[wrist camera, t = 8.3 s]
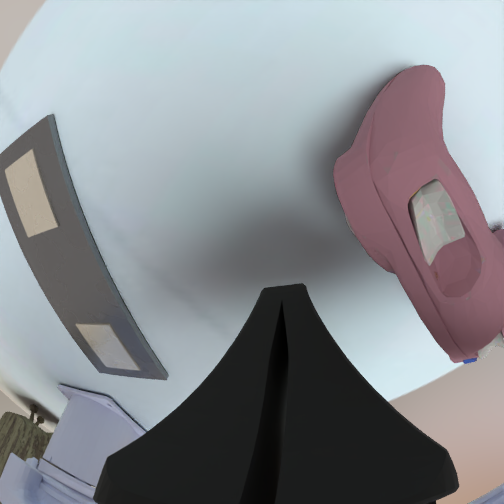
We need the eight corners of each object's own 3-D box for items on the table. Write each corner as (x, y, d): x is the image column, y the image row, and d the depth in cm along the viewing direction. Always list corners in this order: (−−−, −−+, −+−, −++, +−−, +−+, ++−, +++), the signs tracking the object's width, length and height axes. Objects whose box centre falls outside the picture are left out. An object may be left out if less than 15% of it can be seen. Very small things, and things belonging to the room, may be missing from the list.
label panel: (168, 375, 16) (166, 381, 15) (101, 368, 17) (98, 373, 16) (53, 114, 8) (45, 115, 8) (-5, 160, 9) (-11, 163, 9)
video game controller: (330, 115, 9) (273, 241, 5) (417, 48, 6) (501, 101, 2) (446, 266, 12) (444, 394, 8) (515, 235, 8) (541, 371, 4)
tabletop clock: (44, 420, 34) (8, 506, 12) (13, 391, 30) (-30, 481, 9) (80, 432, 30) (41, 541, 9) (41, 401, 27) (-8, 517, 5)
